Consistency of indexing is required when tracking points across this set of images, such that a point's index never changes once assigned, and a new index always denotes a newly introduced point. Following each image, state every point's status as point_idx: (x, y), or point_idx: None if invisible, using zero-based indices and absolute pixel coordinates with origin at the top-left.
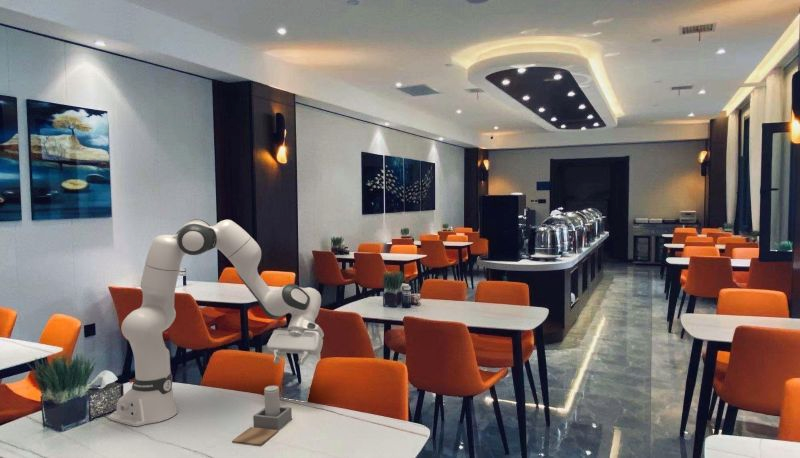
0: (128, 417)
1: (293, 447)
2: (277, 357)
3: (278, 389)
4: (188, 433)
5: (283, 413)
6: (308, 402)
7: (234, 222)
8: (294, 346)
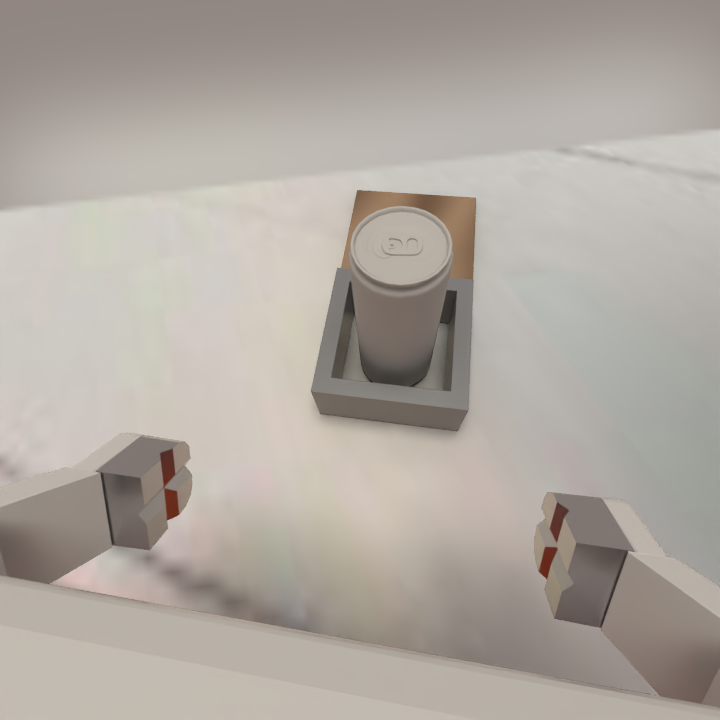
0: None
1: (243, 203)
2: (589, 530)
3: (351, 257)
4: (708, 240)
5: (328, 317)
6: None
7: None
8: (143, 670)
